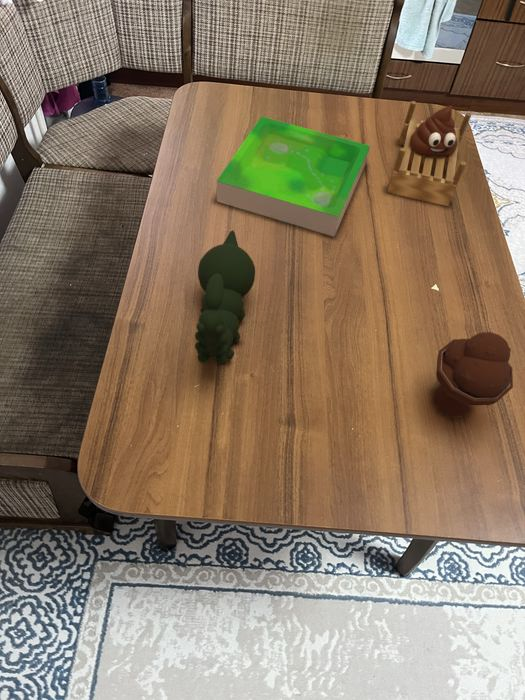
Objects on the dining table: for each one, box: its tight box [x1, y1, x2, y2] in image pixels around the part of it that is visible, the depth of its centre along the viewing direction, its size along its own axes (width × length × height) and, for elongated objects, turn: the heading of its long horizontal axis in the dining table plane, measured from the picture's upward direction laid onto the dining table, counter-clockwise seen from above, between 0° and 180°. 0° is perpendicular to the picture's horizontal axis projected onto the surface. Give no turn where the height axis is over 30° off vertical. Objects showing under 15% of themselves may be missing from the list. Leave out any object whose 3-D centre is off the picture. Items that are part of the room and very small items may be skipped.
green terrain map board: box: [216, 116, 371, 238], centre depth 111 cm, size 25×25×5 cm
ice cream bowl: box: [434, 331, 514, 418], centre depth 78 cm, size 11×11×15 cm
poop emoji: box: [410, 105, 457, 157], centre depth 110 cm, size 10×8×9 cm
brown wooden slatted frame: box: [386, 100, 472, 207], centre depth 114 cm, size 13×20×10 cm, turn 164°
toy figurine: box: [194, 230, 256, 366], centre depth 83 cm, size 9×19×25 cm
